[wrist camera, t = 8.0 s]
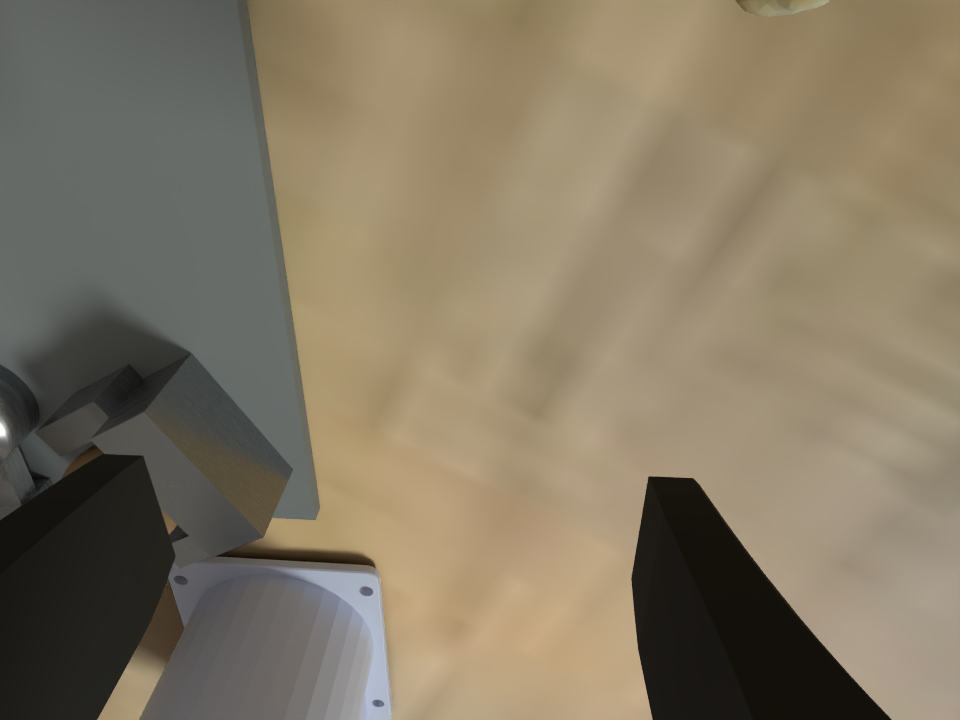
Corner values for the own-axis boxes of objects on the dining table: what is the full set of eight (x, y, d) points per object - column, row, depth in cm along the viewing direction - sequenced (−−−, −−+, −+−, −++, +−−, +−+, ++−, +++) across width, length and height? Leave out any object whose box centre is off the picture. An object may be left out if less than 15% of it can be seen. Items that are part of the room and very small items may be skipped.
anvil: (304, 481, 23) (276, 550, 20) (204, 524, 24) (166, 592, 22) (177, 337, 20) (127, 395, 18) (73, 393, 22) (12, 454, 19)
